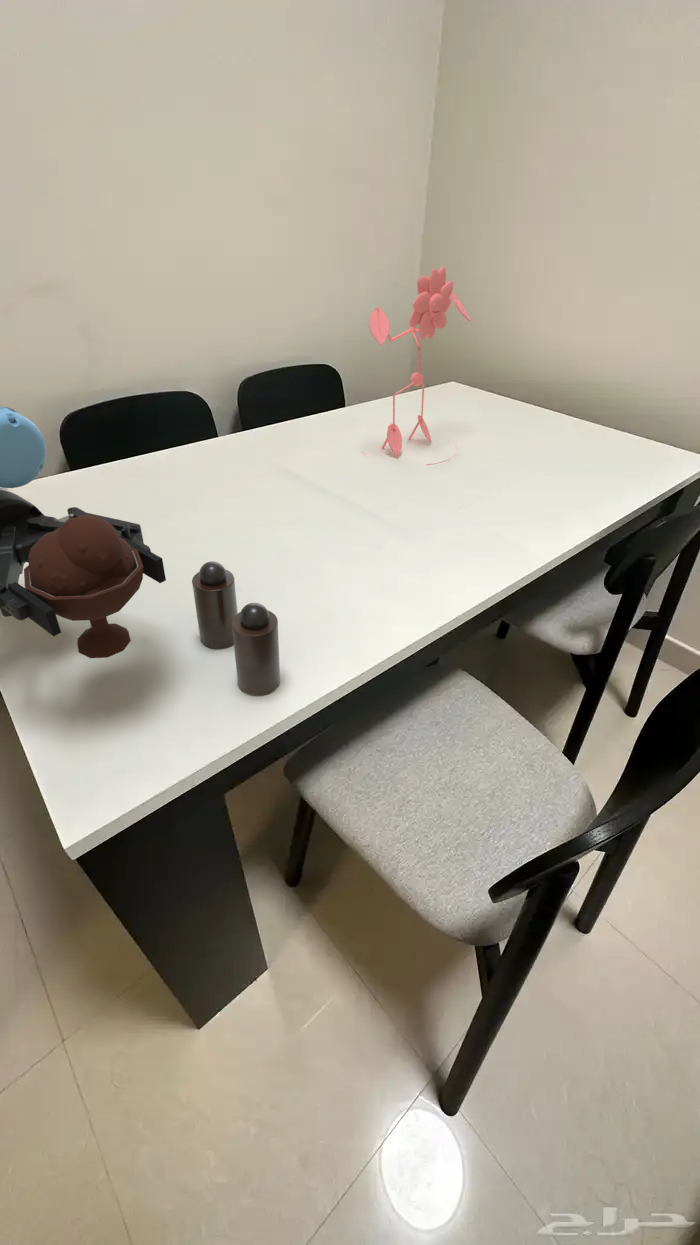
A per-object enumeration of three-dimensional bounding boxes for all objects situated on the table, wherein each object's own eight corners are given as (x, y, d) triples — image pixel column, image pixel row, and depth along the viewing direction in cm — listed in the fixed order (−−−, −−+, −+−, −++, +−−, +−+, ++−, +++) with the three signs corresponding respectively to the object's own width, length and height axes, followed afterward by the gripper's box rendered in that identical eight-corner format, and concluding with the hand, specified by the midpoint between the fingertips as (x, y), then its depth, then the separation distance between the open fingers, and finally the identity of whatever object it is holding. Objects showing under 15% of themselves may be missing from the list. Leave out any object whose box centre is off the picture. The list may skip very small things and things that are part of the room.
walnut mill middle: (211, 654, 73) (201, 579, 66) (193, 633, 76) (182, 560, 69) (246, 640, 75) (240, 566, 68) (228, 620, 78) (220, 548, 71)
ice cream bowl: (145, 603, 68) (121, 484, 59) (164, 661, 61) (140, 534, 51) (47, 623, 65) (5, 499, 55) (54, 688, 57) (6, 556, 48)
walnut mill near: (250, 702, 66) (244, 625, 60) (230, 677, 69) (221, 601, 63) (288, 684, 69) (285, 609, 62) (266, 661, 72) (262, 587, 65)
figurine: (352, 456, 125) (361, 266, 103) (428, 430, 139) (450, 259, 118) (405, 479, 116) (428, 278, 95) (481, 449, 131) (515, 269, 109)
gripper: (95, 515, 76) (208, 578, 66) (-105, 591, 61) (1, 687, 51) (82, 460, 71) (201, 518, 61) (-138, 527, 56) (-29, 619, 46)
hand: (111, 595), depth 56 cm, fingers closed on ice cream bowl, 11 cm apart
